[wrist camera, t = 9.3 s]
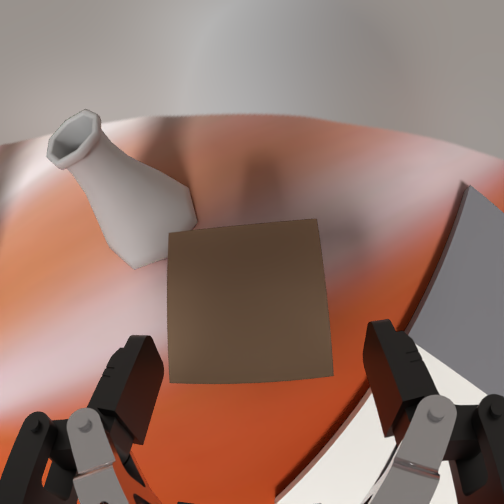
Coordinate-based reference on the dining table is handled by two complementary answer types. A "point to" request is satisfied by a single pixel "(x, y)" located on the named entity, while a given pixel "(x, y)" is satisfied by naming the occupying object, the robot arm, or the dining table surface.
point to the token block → (247, 304)
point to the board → (428, 359)
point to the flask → (122, 191)
